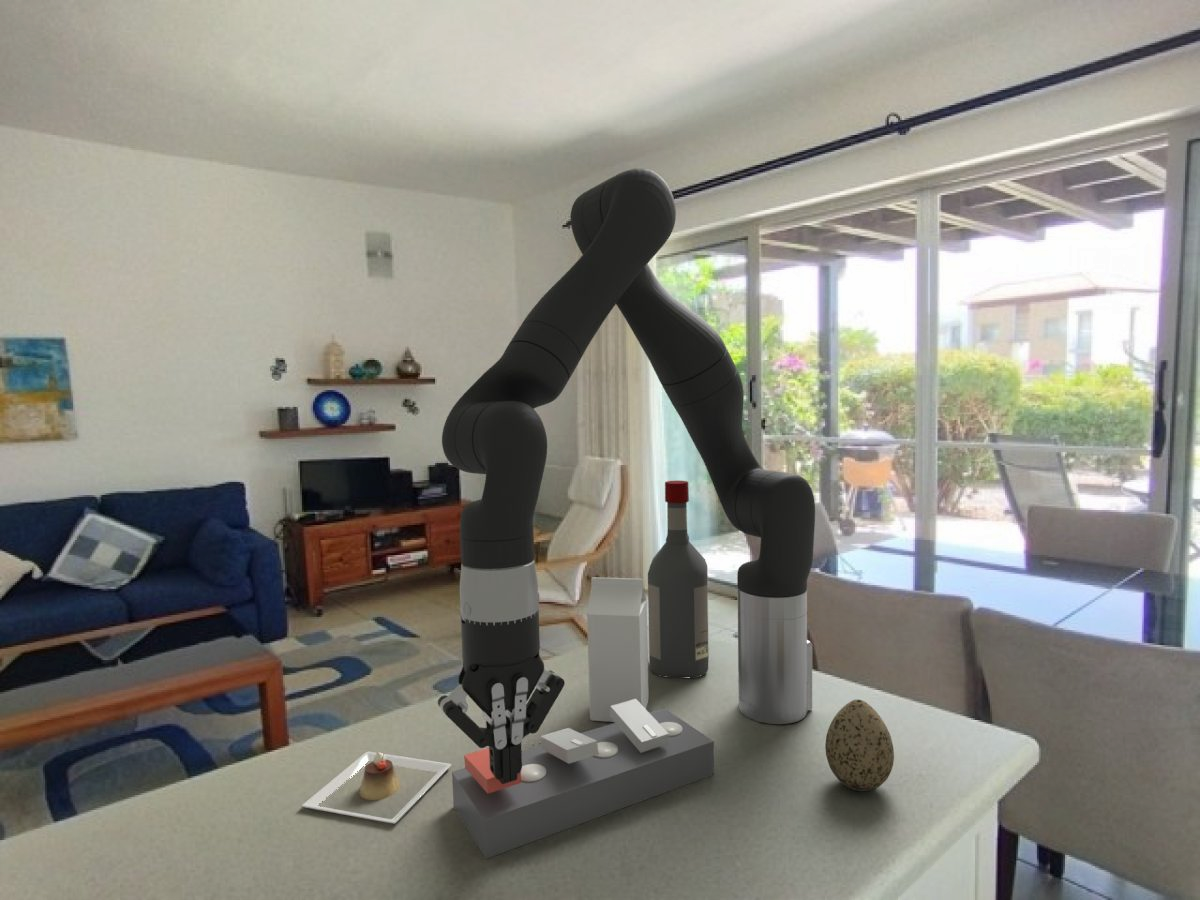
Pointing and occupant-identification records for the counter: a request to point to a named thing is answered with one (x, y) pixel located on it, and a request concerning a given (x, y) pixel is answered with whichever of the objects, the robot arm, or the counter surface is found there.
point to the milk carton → (616, 644)
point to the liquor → (678, 596)
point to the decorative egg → (859, 747)
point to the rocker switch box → (580, 785)
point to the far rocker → (638, 725)
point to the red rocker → (485, 771)
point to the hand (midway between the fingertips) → (506, 778)
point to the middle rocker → (569, 745)
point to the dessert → (377, 781)
